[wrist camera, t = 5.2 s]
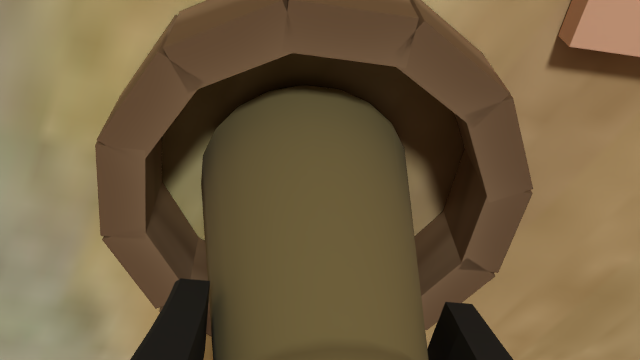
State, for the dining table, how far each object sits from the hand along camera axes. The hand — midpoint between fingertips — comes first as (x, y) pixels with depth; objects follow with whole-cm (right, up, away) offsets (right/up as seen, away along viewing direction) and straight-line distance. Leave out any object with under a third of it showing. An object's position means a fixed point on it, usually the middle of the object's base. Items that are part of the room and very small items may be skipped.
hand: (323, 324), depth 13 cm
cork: (-1, +3, +5) cm, 6 cm away
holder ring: (0, +4, +5) cm, 6 cm away
